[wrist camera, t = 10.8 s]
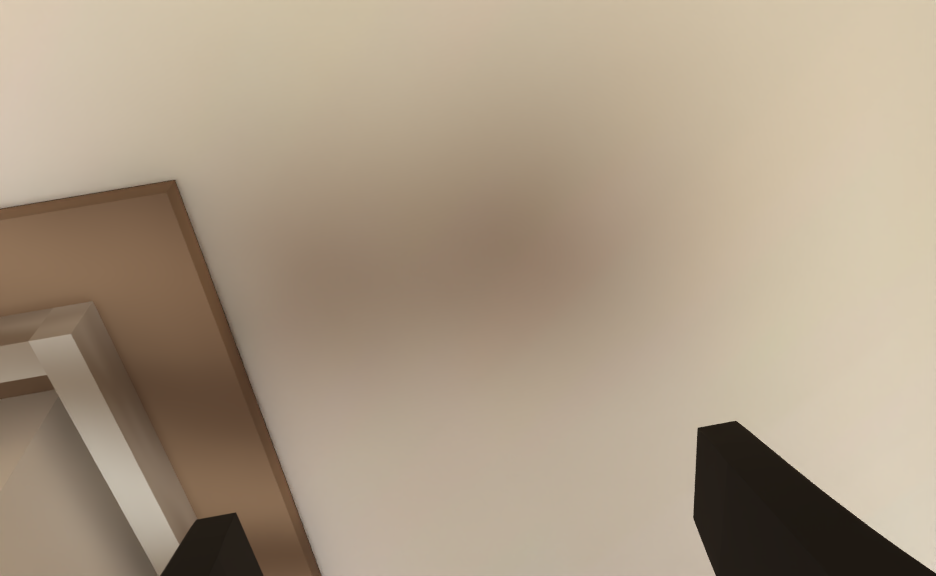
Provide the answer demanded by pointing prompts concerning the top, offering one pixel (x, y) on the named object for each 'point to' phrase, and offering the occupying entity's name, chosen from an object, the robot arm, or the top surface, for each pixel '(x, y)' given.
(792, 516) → the robot arm
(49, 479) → the cream rectangular block
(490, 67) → the top surface
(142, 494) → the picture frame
